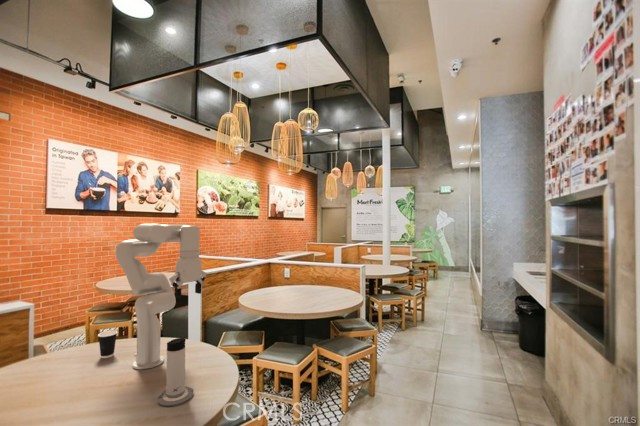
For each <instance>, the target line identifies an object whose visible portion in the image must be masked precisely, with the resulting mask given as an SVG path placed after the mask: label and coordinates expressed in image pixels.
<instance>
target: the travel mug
mask: <svg viewBox="0 0 640 426" xmlns="http://www.w3.org/2000/svg"><path fill="white" fill-rule="evenodd" d="M186 341H187V340H186V338H185V337H178V338H175V339H171V340H169V341H168V342H167V343H166V377H165V378H166V380H165V381H166V384H165V385H166V389H165V391H166V396H167V397H168V398H177V397H179V396H181V395H183V394H184V392H185V386H186Z"/></svg>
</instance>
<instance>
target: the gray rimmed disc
mask: <svg viewBox="0 0 640 426" xmlns="http://www.w3.org/2000/svg"><path fill="white" fill-rule="evenodd" d="M193 396H194V389H193V388H192V387H191V386H187V385H185V392H184V394H183V395H181V396H179V397H177V398H168V397H167V396H166V390H164V391H162V392H161V393H160V394H159V395H158V396H157V404H158V405H159V406H160V407H163V408H172V407H177V406H180V405H182V404H183V405H184V404H186V403H187V402H189V401H190V400H191V399H192V398H193Z"/></svg>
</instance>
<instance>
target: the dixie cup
mask: <svg viewBox="0 0 640 426" xmlns="http://www.w3.org/2000/svg"><path fill="white" fill-rule="evenodd" d="M117 333H118V331H117V330H107V331H102V332H100V333H98V334H97V337H98V343H99V345H98V346H99V352H100V357H101V359H108V358H112V357H113V356H114V354H115V349H116V341H117V335H118V334H117Z"/></svg>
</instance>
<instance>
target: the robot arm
mask: <svg viewBox="0 0 640 426" xmlns="http://www.w3.org/2000/svg"><path fill="white" fill-rule="evenodd" d="M200 231H201V228H200V227H199V225H190V224H189V225H188V224H162V223H141V224H138V225H137V226H135V227H134V228H133V231H132V234H133V238H134V239H127V240H123V241H120V242H119V243H118V244H117V245H116V248H115V258H116V260H117V263H118V265H119V266H120V268H121V269H122V271H123V272H124V274H125V275H126V279H127V281H128V282H127V283H128V285H129V286H130V288H131V291H132V293H133V294H134V295H135V296H140V297H138V298H137V299H136V300H135V303H134V310H135V316H136V353H134V354H133V357H135V361H133V363H132V368H133V369H135V370H148V369H151V368H152V369H153V368H155V367H158V366H160V365H161V364H162V363H164V361H165V358H164V356H163V355H161V321H160V319H159V318H158V317H157V314H160V313H164V312H167V311H170V310H172V309H174V307H175V306H176V304H177V302H176V299H182V285H183V284H187V283H193V282H195V283H194V284H195V287H194V289H195V290H194V291H195V292H194V293H196V294H202V284H203V283H204V281H205V279H206V277H207V272H205V271H204V270H202V261H201V257H200V255H201V252H202V251H201V250H200V239H201V238H200V233H201V232H200ZM164 243H166V244H167V243H179V258H177V260H176V265H175V270H174V271H175V272H174V274H173V275H172V276H171V277H169V279H168V277H167V276H166V275H165V274H164V273H162V272H160V271H158V272H151V273H150V272H148V271H147V268H146V267H145V266H146V265H144V263H143V262H142V261H140V260H138V259H137V258H138V257H149V256H153V255H154V254H156V253H157V252H158V250H159V249H160V247H161V246H162V244H164ZM172 287H173V289H174V291H173V289H172ZM141 295H142V296H141Z"/></svg>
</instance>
